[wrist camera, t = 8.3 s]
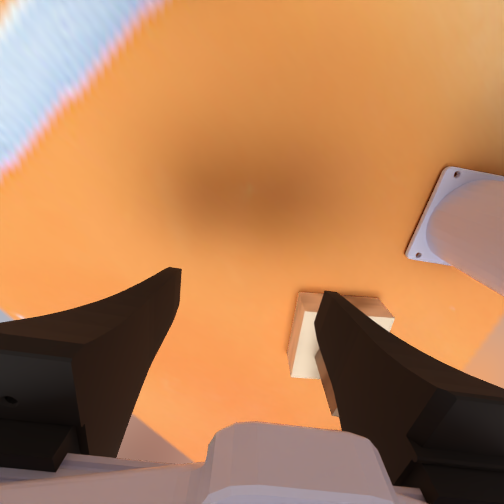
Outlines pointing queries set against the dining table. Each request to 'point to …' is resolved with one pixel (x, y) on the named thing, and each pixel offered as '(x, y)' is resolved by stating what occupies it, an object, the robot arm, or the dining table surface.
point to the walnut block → (326, 383)
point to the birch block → (304, 334)
